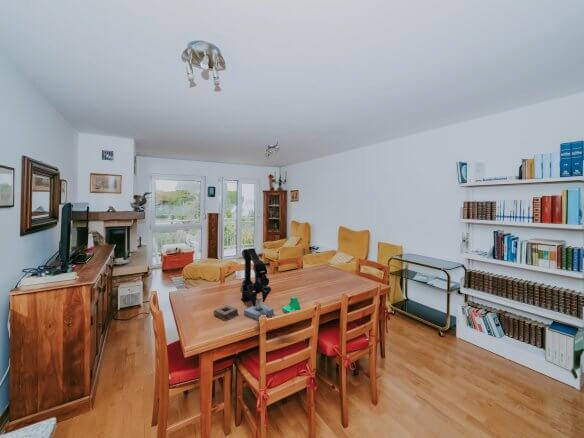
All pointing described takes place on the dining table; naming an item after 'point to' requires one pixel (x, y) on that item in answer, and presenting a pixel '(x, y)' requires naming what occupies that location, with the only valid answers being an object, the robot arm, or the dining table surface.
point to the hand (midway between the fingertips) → (258, 304)
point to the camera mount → (292, 305)
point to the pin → (259, 304)
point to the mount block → (225, 311)
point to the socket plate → (256, 314)
